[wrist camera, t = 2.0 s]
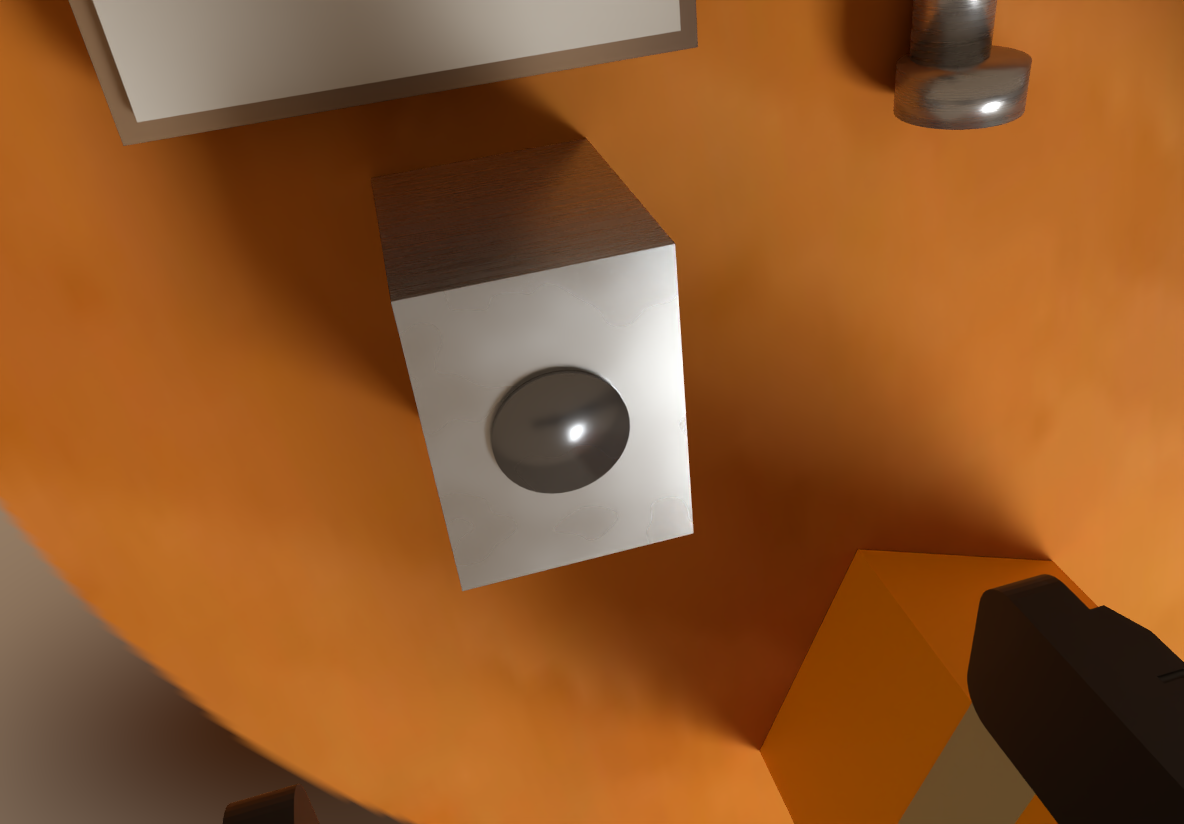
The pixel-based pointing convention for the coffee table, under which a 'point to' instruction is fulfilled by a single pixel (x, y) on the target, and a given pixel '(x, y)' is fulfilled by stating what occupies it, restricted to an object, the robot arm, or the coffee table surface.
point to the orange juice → (900, 701)
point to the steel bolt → (959, 69)
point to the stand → (344, 52)
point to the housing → (540, 356)
